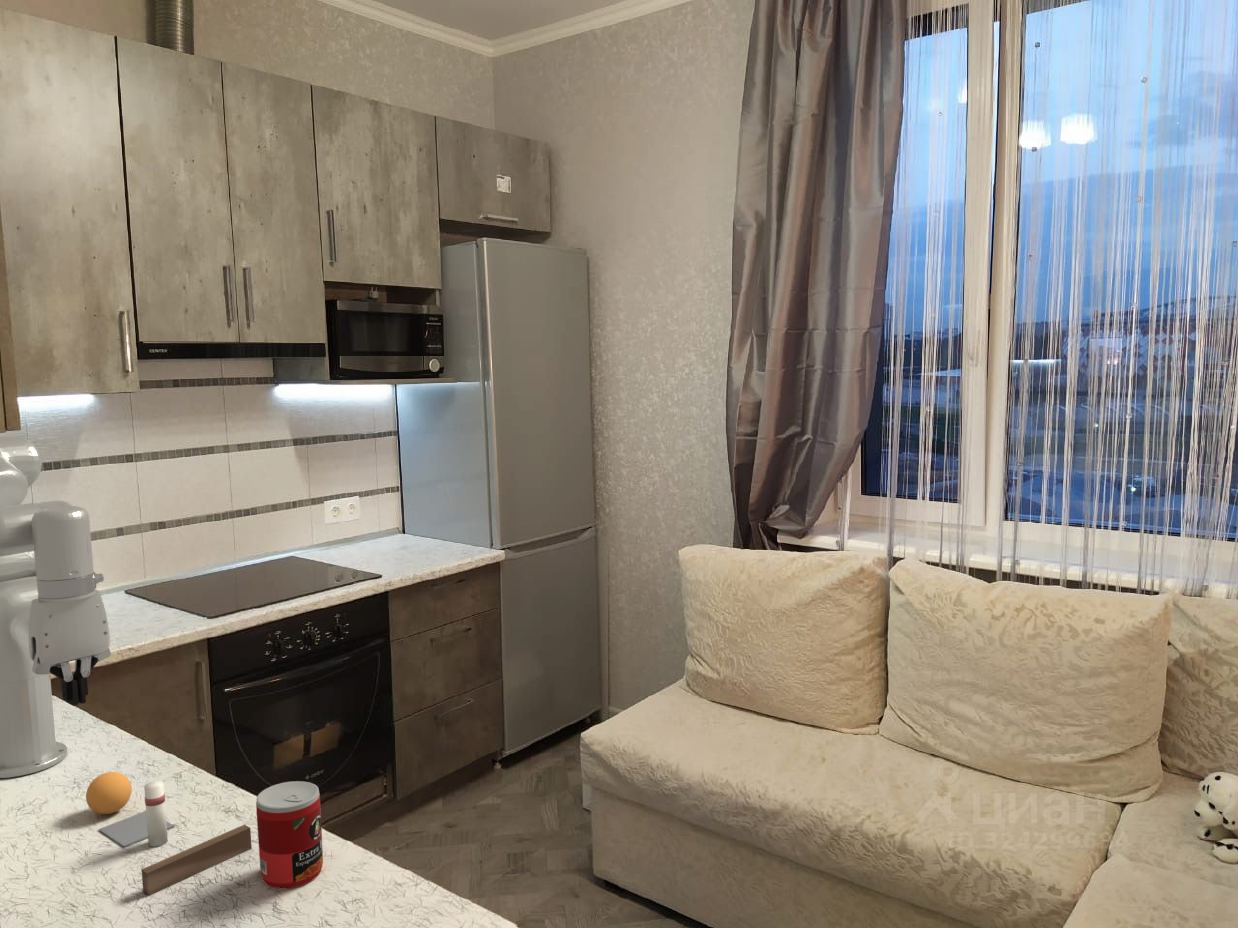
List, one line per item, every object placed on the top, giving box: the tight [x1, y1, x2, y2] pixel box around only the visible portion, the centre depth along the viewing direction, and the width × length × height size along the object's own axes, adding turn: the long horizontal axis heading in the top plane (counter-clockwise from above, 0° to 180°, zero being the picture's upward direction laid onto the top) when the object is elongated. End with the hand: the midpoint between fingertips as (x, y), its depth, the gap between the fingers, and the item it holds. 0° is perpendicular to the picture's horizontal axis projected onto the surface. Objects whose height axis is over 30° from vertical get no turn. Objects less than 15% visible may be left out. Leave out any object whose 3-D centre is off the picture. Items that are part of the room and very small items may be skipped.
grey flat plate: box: [98, 810, 175, 848], centre depth 131 cm, size 8×7×1 cm
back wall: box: [141, 824, 253, 897], centre depth 120 cm, size 2×14×3 cm, turn 142°
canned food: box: [255, 780, 324, 890], centre depth 118 cm, size 8×8×11 cm
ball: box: [85, 771, 133, 815], centre depth 136 cm, size 6×6×6 cm
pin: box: [143, 780, 169, 848], centre depth 126 cm, size 2×2×8 cm
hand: (76, 702), depth 140 cm, fingers closed
